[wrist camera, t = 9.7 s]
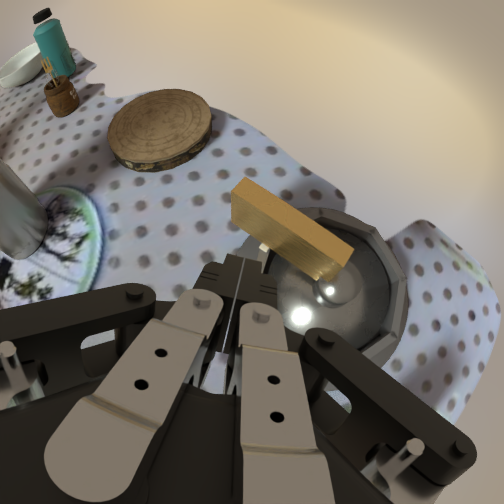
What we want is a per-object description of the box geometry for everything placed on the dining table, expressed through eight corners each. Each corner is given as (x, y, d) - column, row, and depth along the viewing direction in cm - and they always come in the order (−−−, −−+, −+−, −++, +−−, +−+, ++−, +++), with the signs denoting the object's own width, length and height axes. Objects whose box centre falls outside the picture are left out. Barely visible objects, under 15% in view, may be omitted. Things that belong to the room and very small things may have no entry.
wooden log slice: (233, 136, 42) (233, 122, 39) (140, 193, 37) (134, 181, 34) (178, 90, 46) (176, 78, 43) (99, 135, 41) (93, 123, 38)
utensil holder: (57, 123, 42) (33, 77, 31) (51, 110, 44) (30, 67, 33) (83, 106, 44) (63, 58, 33) (75, 94, 45) (57, 50, 34)
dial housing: (195, 254, 34) (191, 239, 30) (346, 188, 39) (355, 171, 35) (285, 426, 27) (292, 434, 24) (430, 326, 32) (449, 320, 28)
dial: (399, 278, 33) (442, 250, 25) (343, 379, 29) (383, 381, 20) (271, 190, 37) (281, 139, 28) (198, 275, 32) (185, 241, 23)
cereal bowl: (38, 57, 54) (31, 40, 48) (65, 58, 52) (58, 38, 46) (-3, 94, 48) (-13, 78, 41) (18, 99, 46) (8, 79, 40)
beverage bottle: (82, 74, 48) (58, 3, 30) (57, 90, 46) (28, 21, 28) (74, 67, 50) (52, 2, 31) (51, 82, 48) (24, 18, 29)
